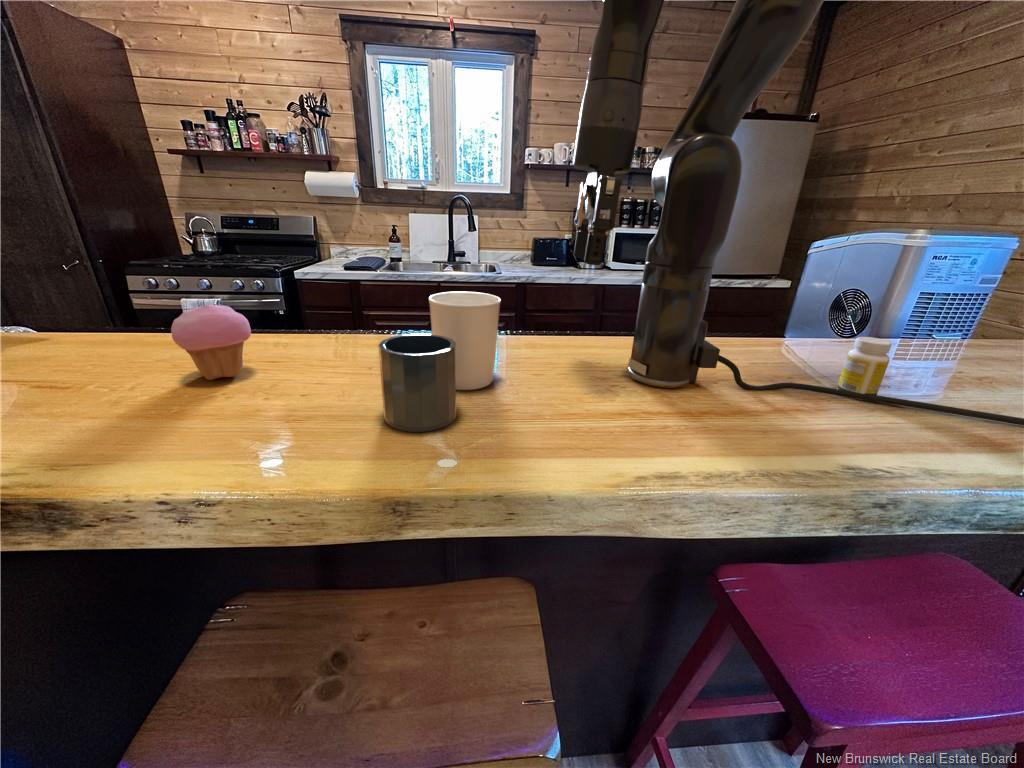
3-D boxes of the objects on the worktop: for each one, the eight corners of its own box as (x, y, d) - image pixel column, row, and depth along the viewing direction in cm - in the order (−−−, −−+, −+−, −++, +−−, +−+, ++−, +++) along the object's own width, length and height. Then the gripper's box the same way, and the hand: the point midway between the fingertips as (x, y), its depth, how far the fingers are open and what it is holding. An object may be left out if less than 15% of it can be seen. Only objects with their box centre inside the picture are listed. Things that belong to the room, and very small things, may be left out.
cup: (458, 402, 56) (458, 334, 53) (452, 433, 48) (452, 356, 45) (393, 400, 56) (388, 332, 53) (376, 431, 48) (370, 354, 45)
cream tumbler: (502, 370, 68) (504, 293, 63) (493, 395, 59) (495, 307, 54) (440, 366, 69) (438, 289, 64) (422, 389, 60) (419, 302, 55)
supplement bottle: (870, 392, 66) (890, 338, 63) (879, 403, 62) (901, 347, 59) (832, 386, 68) (850, 334, 64) (839, 397, 64) (858, 341, 60)
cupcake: (255, 362, 67) (243, 297, 63) (261, 380, 60) (248, 309, 56) (184, 371, 62) (166, 301, 58) (182, 392, 56) (162, 315, 52)
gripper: (655, 122, 49) (626, 270, 54) (621, 141, 62) (601, 258, 68) (589, 113, 48) (567, 264, 54) (569, 134, 61) (553, 253, 67)
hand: (586, 261), depth 61 cm, fingers open, 8 cm apart
